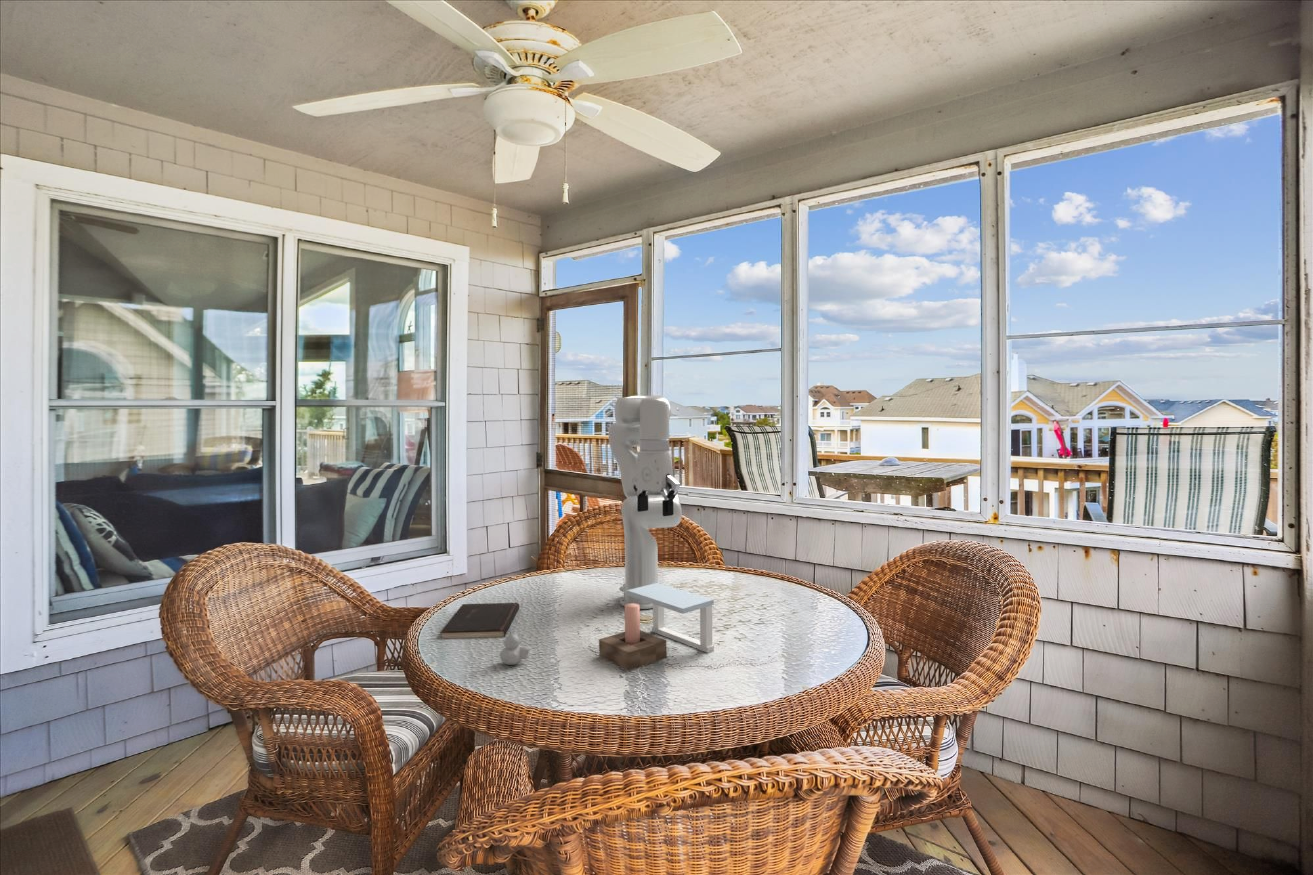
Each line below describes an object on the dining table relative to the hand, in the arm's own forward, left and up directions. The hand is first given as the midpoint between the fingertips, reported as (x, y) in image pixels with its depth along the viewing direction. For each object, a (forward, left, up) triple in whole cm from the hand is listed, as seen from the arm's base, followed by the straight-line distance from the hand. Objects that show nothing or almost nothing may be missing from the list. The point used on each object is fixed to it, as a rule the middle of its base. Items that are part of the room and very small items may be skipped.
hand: (655, 513), depth 168 cm
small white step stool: (+10, -4, -30) cm, 32 cm away
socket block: (+10, -16, -30) cm, 36 cm away
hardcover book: (-36, -30, -31) cm, 57 cm away
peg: (+10, -16, -30) cm, 36 cm away
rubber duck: (-5, -38, -31) cm, 49 cm away
